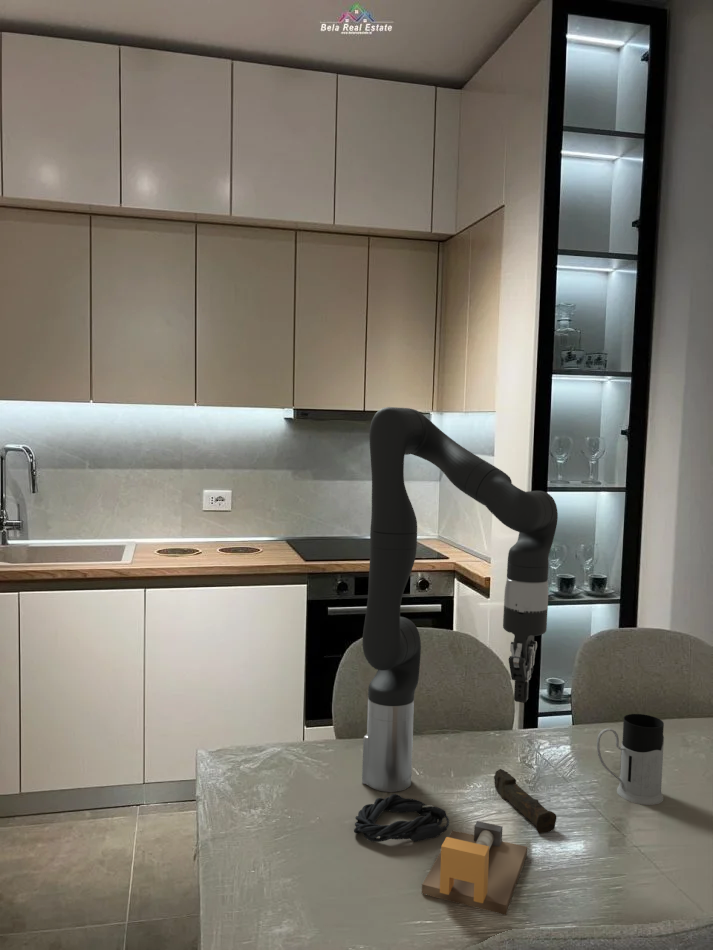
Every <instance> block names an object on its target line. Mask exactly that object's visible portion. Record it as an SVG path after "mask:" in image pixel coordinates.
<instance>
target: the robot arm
mask: <svg viewBox="0 0 713 950" xmlns="http://www.w3.org/2000/svg"><path fill="white" fill-rule="evenodd" d="M368 434H369V453H370V469H371V513H370V514H371V516H370V528H369V529H370V530H369V531H370V532H369V533H370V534H369V569H368V571H369V572H368V589H367V590H368V591H367V602H366V608H365V609H366V610H365V617H364V624H363V630H362V632H363V633H362V650H363V655H364V657H365V659H366V661H367V663H368V664H369V665H370V666H371V667H372V668H374V670H377V671H376V674H375V675H374V677H373V678H372V679H371V681H370V682H369V684H368V689H367V690H368V691H367V722H366V734H365V735H364V736H363V740H362V742H363V743H362V765H361V766H362V771H361V772H362V773H361V776H362V777H361V783H362V784H364V785H367V786H368V787H369V788H371V789H374V790H376V791H380V792H387V793H388V792H389V793H394V792H401V791H404V790H406V788H407V789H408V788H409V787H411V785H412V775H413V770H412V768H413V765H412V764H413V744H414V743H413V741H414V740H413V738H414V735H413V734H414V715H415V713H414V709H415V707H414V706H415V705H414V704H415V693H416V692H415V691H416V689H417V687H418V683H419V680H420V678H419V677H420V667H421V666H420V665H421V654H422V643H421V634H420V632H419V629H418V628H417V626H416V625H415V623H414V622H413V621H412V620H411V619H409V618H407V617H404V616H401V605H402V600H403V599H402V598H403V596H404V595H403V594H404V591H405V588H406V587H407V584H408V581H409V578H410V576H411V573H412V570H413V568H414V564H415V560H416V555H417V547H418V521H417V516H416V513H415V511H414V507H413V504H412V503H411V499H410V497H409V495H408V492H407V489H406V485H405V484H406V483H405V475H404V474H405V473H404V471H405V469H404V468H405V456H406V455H413V456H414V457H418V458H420V459H423V460H425V461H428V462H429V463H431V464H433V465H435V466H436V467H437V468H438V469H439V470H441V472H442V473H443V474H444V475H445V476H446V478H447V479H448V480H449V481H450V482H451V484H452V485H454V486H455V488H457V489H458V490H459V491H461V492H462V493H464V495H465V494H466V495H467V496H468V497H469V498H472V499H473V500H474V501H476V502H478V503H479V504H481V505H482V506H485V508H487V510H488V511H489V512H490V513H491V514H492V515H493V516H494V517H495V518H496V519H497V520H498V521H499V522H501V523H502V524H503V525H505V527H507V528H509V529H510V530H513V531H515V532H518V537H517V541H516V543H515V544H513V545H512V546H511V547H510V548H509V550H508V553H507V564H506V565H507V566H506V567H507V569H506V581H505V586H504V597H503V598H504V599H503V616H502V617H503V619H502V628H503V629H504V631H506V632H507V633H511V634H513V635H514V637H513V641H510V653H511V655H509V657H508V664H509V670H510V676H511V678H510V679H511V680H512V681H514V689H513V690H514V693H513V701H514V702H516V703H522V704H525V703H526V702H527V701H528V699H529V687H530V680H531V678H532V674H533V671H534V666H535V658H536V653H537V648H538V642H537V641H536V640H535V637H537V636H542V635H544V634H545V633H546V632H547V629H548V627H547V626H548V609H549V608H548V607H549V587H548V586H549V584H548V583H549V582H548V579H549V556H550V552H551V549H552V546H553V543H554V537H555V534H556V530H557V525H558V518H559V517H558V507H557V504H556V501H555V499H554V498H553V497H552V495H550V494H549V493H548V492H546V491H543V490H529V491H526V490H522V489H521V488H519V487H518V486H516V485H514V484H513V482H512V479H511V477H510V476H509V475H508V474H507V473H505V472H504V471H503V470H502V469H500V468H498V467H496V466H495V465H493V464H491V463H490V462H488V461H486V460H485V459H483V458H481V457H480V456H478V455H476V454H474V453H473V452H472V451H469V450H468V449H467V448H465V447H464V446H462V445H460V444H459V443H457V442H456V441H455V440H454V439H452V438H451V437H450V436H448V435H447V434H446V433H445V432H443V431H442V430H441V429H440V428H439V427H438V426H436V425H435V424H434V422H432V421H431V420H430V419H429V418H427V417H426V416H425V415H424V414H423V413H421V412H420V411H419V410H417V409H413V408H409V407H391V406H387V407H382V408H380V409H379V410H378V411H377V412H375V413H374V416H373V417H372V419H371V423H370V427H369V433H368Z"/></svg>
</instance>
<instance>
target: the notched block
mask: <svg viewBox="0 0 713 950" xmlns="http://www.w3.org/2000/svg"><path fill="white" fill-rule="evenodd" d="M440 849H441V850H440V851H441V869H440V893H443V894H447V895H449V893H450V891H451V889H452V887H453V885H454V879H458V880H462V881H466V882H470V883H474V901H475V902H479V903H483V902H484V900H485V897H486V895H487V889H488V864H489V846H485V845H481V844H477V843H472V842H468V841H463V840H459V839H454V838H450V837H449V836H446V837H445V839H444V841H443V842H442V844H441V847H440Z"/></svg>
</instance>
